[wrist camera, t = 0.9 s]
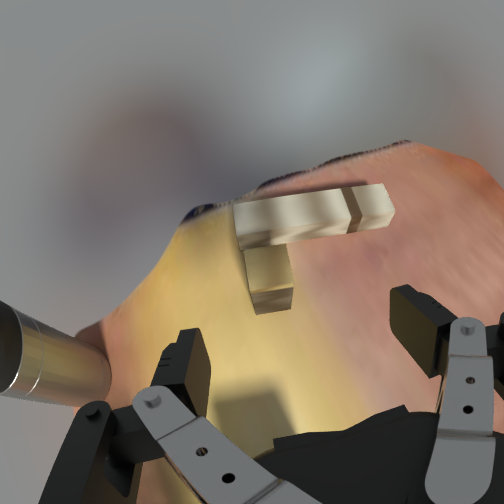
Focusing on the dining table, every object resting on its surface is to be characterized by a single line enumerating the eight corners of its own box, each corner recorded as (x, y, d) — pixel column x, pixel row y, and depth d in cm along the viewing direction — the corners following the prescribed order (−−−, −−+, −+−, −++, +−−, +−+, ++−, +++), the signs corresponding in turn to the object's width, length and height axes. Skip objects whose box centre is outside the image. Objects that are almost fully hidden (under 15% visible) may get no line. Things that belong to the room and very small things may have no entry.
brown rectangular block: (255, 315, 38) (249, 289, 30) (250, 282, 40) (243, 250, 32) (290, 309, 38) (294, 282, 30) (284, 277, 40) (285, 243, 32)
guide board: (240, 250, 42) (236, 235, 39) (236, 220, 45) (232, 203, 41) (387, 226, 42) (395, 210, 39) (376, 199, 45) (382, 182, 41)
